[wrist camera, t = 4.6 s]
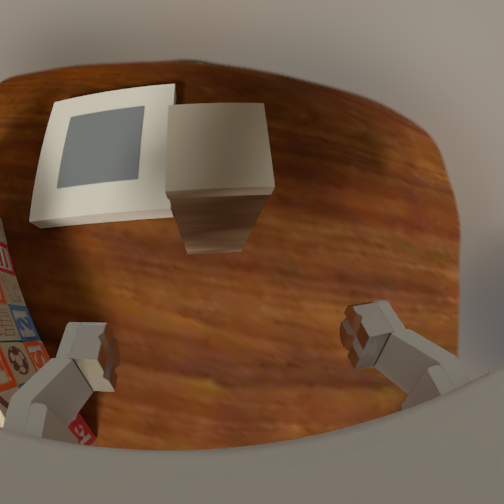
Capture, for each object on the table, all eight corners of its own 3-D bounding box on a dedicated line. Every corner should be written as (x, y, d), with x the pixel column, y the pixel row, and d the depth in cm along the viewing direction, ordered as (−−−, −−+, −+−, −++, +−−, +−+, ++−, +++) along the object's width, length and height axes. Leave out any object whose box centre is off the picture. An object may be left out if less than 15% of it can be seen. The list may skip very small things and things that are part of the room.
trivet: (40, 228, 21) (28, 221, 19) (61, 113, 23) (54, 101, 21) (173, 217, 23) (170, 207, 21) (176, 97, 25) (174, 82, 23)
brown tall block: (187, 255, 23) (165, 191, 11) (185, 203, 23) (168, 105, 12) (241, 252, 23) (274, 186, 11) (237, 201, 24) (263, 103, 12)
